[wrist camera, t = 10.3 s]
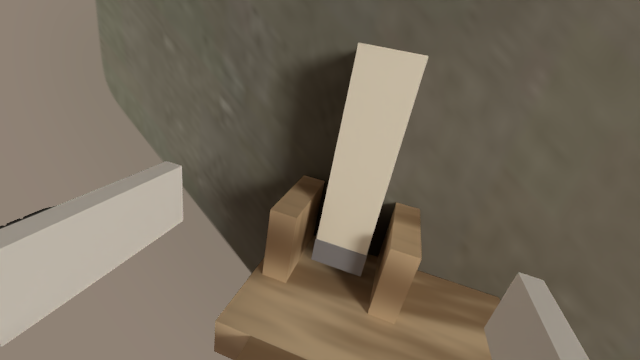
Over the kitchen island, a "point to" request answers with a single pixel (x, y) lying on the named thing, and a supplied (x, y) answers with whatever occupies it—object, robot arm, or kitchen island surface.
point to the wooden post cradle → (349, 298)
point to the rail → (366, 152)
